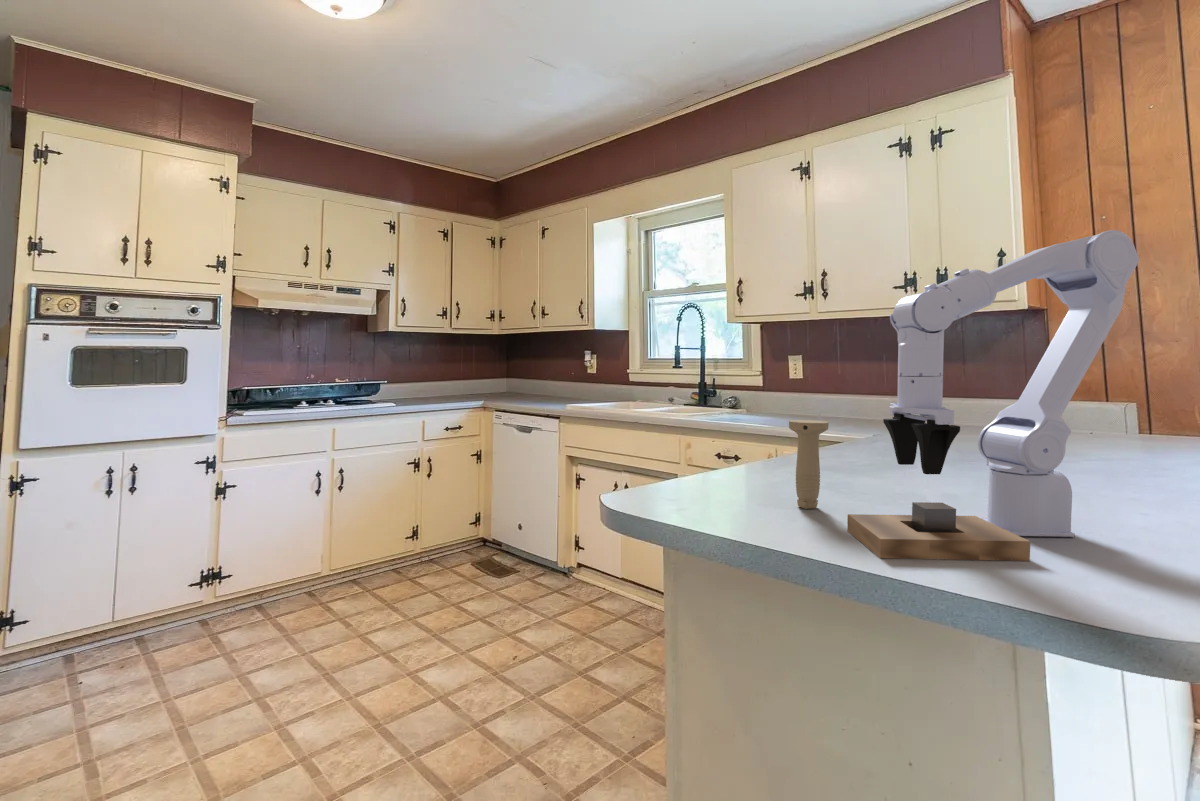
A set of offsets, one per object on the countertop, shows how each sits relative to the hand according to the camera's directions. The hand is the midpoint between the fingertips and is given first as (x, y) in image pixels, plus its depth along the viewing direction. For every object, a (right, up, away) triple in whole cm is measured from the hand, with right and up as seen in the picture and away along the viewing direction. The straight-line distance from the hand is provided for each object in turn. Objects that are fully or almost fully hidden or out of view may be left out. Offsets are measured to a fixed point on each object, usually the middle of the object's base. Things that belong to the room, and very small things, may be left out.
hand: (918, 468), depth 83 cm
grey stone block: (-1, -10, -5) cm, 11 cm away
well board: (-1, -10, -5) cm, 11 cm away
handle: (-11, -9, +15) cm, 21 cm away
